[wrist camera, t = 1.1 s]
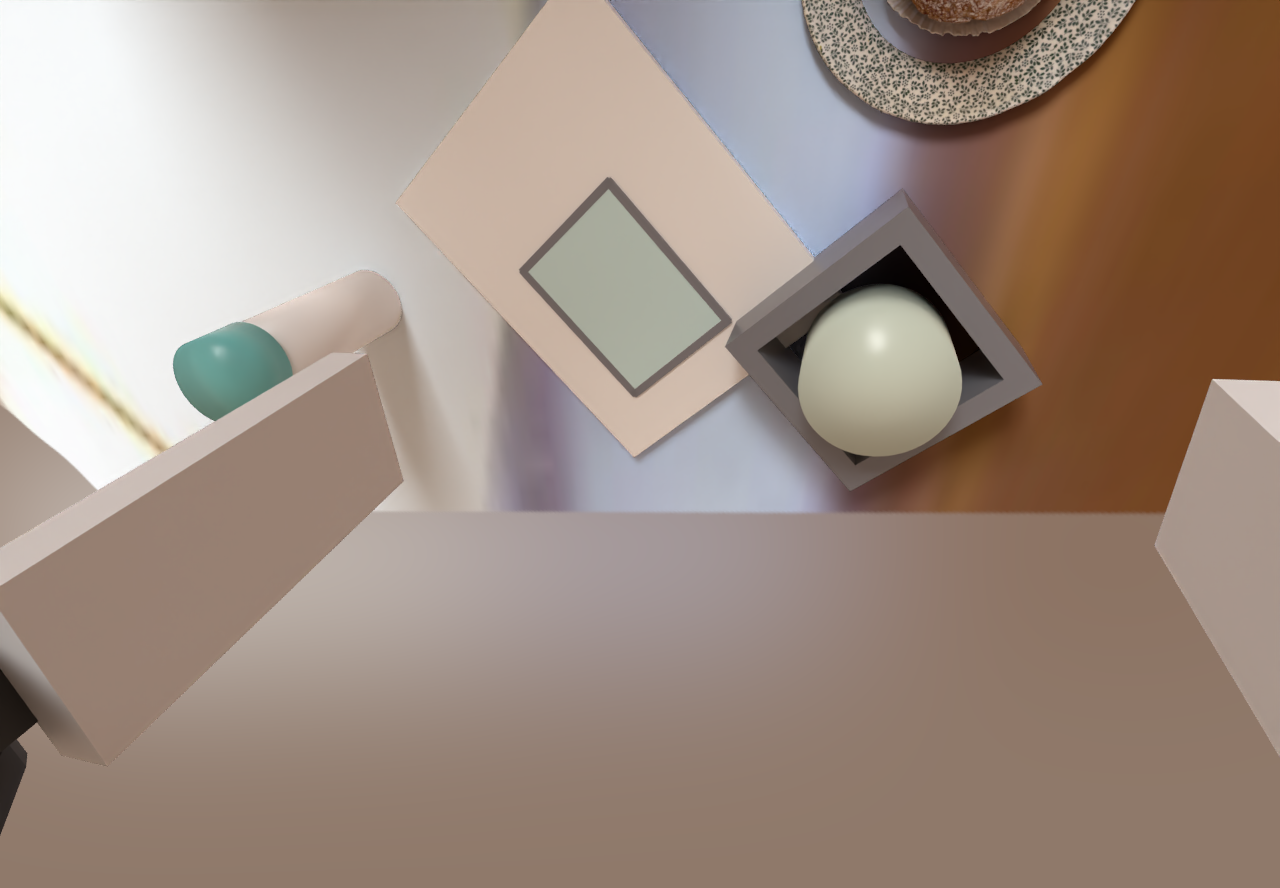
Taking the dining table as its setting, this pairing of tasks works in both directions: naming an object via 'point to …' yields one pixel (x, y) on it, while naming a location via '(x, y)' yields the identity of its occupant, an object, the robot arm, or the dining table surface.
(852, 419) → the button
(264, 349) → the marker
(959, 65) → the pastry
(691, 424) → the dining table surface
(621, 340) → the sheet
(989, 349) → the button housing
